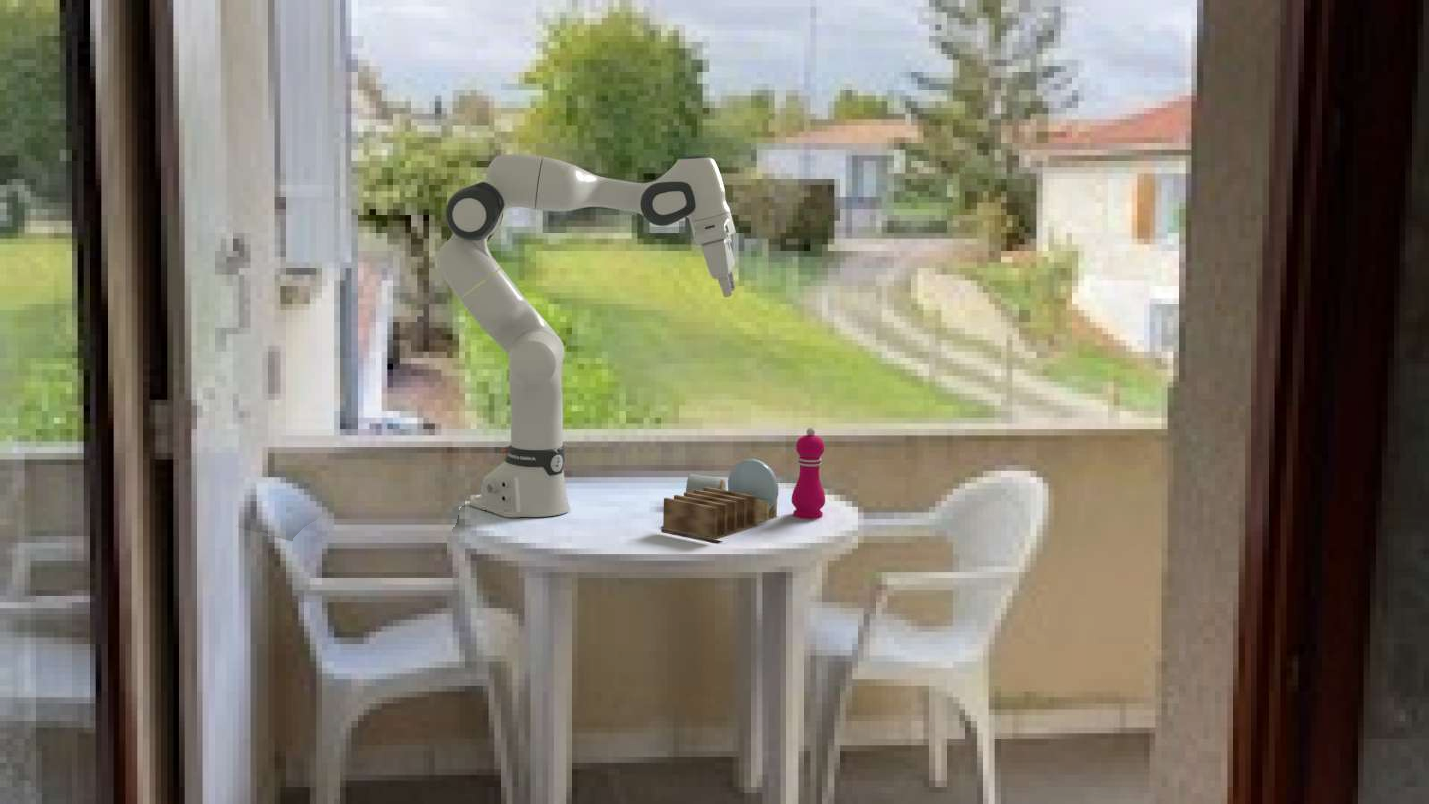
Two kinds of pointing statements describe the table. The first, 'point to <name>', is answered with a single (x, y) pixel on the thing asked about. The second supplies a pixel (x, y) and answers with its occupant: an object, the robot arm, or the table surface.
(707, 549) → the table surface
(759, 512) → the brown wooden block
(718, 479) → the ceramic mug
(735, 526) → the dish rack
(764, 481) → the plate
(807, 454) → the pepper mill
